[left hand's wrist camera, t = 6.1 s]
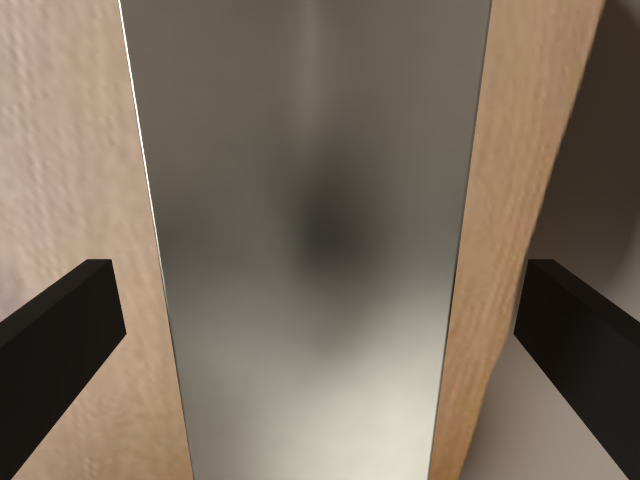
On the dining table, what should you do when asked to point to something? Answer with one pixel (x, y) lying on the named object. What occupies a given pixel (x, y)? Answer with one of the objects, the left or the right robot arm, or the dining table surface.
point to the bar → (307, 221)
